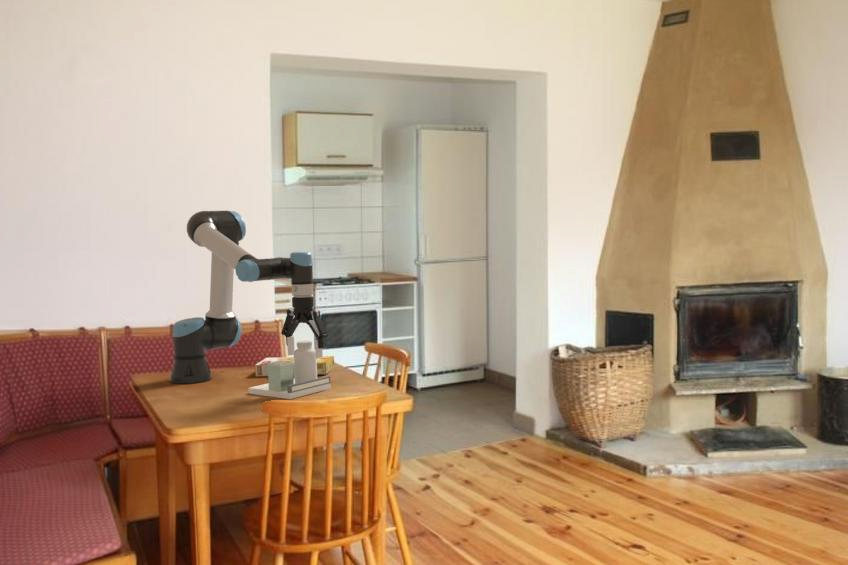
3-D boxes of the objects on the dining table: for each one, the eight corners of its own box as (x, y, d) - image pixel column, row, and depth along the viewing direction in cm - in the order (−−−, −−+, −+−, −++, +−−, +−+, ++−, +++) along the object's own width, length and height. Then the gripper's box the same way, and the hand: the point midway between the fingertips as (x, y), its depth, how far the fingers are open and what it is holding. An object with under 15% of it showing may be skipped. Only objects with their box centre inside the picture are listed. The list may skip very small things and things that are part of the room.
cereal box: (326, 361, 317) (253, 363, 318) (326, 376, 317) (254, 377, 319) (334, 354, 337) (266, 356, 339) (334, 368, 338) (266, 369, 339)
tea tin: (268, 389, 282) (267, 363, 281) (281, 386, 287) (280, 360, 286) (281, 391, 278) (280, 364, 277) (294, 388, 283) (293, 361, 282)
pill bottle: (291, 385, 287) (289, 343, 286) (299, 381, 295) (297, 339, 294) (313, 386, 286) (311, 343, 285) (320, 381, 294) (319, 339, 293)
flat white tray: (248, 393, 286) (248, 380, 286) (290, 383, 302) (289, 371, 302) (290, 399, 274) (289, 386, 274) (331, 388, 291) (330, 376, 290)
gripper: (269, 296, 293) (272, 355, 294) (321, 298, 278) (323, 360, 280) (285, 294, 299) (287, 352, 300) (336, 296, 284) (338, 357, 286)
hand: (305, 356), depth 290 cm, fingers open, 13 cm apart
